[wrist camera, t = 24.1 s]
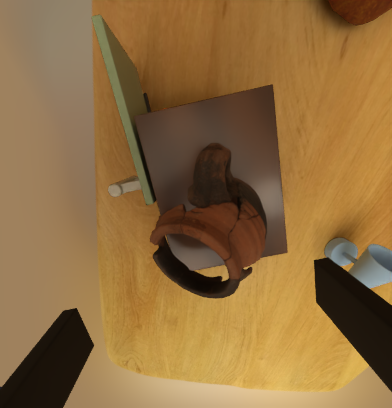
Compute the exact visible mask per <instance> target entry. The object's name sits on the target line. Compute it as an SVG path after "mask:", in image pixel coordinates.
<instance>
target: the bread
mask: <svg viewBox="0 0 392 408" xmlns="http://www.w3.org/2000/svg"><path fill="white" fill-rule="evenodd" d="M328 1H329V3H330V5H331V7H332V9H333V10H334V11H335V12H336V13H337V14H339V15H340V16H341V17H343V18H344V19H345V20H346V21H348V22H349V23H351V24H353V25H361V24H364V23H367V22H370V21H373V20H374V19H376V18H377V17H379V16H380V15H382V14H383V13H385V12H386V11H388V10H389V9H391V8H392V0H328Z"/></svg>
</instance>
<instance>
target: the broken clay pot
mask: <svg viewBox="0 0 392 408" xmlns="http://www.w3.org/2000/svg"><path fill="white" fill-rule="evenodd" d="M230 167H231V151H230V150H229V149H227V148H225V147H224V146H222V145H221V144H219V143H210V144H209V145H208V146H206V147H205V148H204V149H203V150H202V151H201V152H200V153H199V155H198V157H197V160H196V163H195V169H194V174H193V184H192V185H191V186H190V187H189V188H188V195H187V199H188V202H189V203H190V204H191V205H193V206H196V208H194V209H192V210H190V211H186V207H185V205H184V204H180V205H178V206H176V207H174V208H172V209H171V210H169V211H167V212H166V213H165V214H162V215H161V216H160V217H159V220H158V221H157V224H156V228H155V229H154V230H153V231H152V234H151V236H150V242H152V243H153V244H154V245H159V248H158V250H157V251H156V252H155V253H154V254H153V259H154V261H155V262H156V264H157V265H158V267H159V268H160V269H161V270H162V272H163V273H164V274H165V275H166V276H167V277H168V278H170V279H171V280H172V281H174V282H175V283H177V284H178V285H179V286H181V287H182V288H184V289H186V290H188V291H190V292H192V293H194V294H197V295H199V296H202V297H207V298H224V297H227V296H230V295H232V294H233V293H235V291H236V289H237V288H238V286H239V283H240V281H242V280H243V279H245V278H246V277H247V276H248V275H250V274H251V273H252V267H249V268H248V269H247V270H244V269H243V268H244V267H247V266H250V265H251V264H254V263H255V262H256V261H258V260H259V259H260V258H261V255H262V252H263V251H264V249H265V239H266V235H267V219H266V214H265V211H264V209H263V205H262V202H261V200H260V197H259V196H258V194H257V193H256V191H255V190H254V189H253V188H252V187H251V186H250V185H248V184H247V183H245V182H243V181H242V180H240V179H237V178H234V177H233V176H232V173H231V170H230ZM232 198H237V202H238V204H237V205H238V208H237V206H236V205H235V204H234V203H233V202H232V201H231V199H232ZM173 233H174V234H177V233H180V234H182V233H184V234H186V235H188V236H191V237H194V238H195V239H197V240H199V241H201V242H203V243H204V244H206V245H207V246H209V247H210V248H211V249H212V250H214V251H215V252H216V253H217V254H218V255H219V256H220V258H221V259H223V261H224V263H225V265H226V267H227V269H228V273H229V279H228V280H226V281H222V277H221V276H217V277H206V276H204V275H201V274H199V273H197V272H195V271H191V270H189V268H188V267H187V266H186V265H185V264H184V263H182V262H181V261H180V260H179V259H177V257H175V256H174V254H173V253H172V251H171V250H170V247H169V245H168V243H167V240H166V238H165V235H167V234H173ZM221 281H222V282H221Z"/></svg>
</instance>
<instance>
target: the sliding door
mask: <svg viewBox="0 0 392 408" xmlns="http://www.w3.org/2000/svg"><path fill="white" fill-rule="evenodd" d="M92 21H93V24H94V28H95V31H96V35H97V38H98V41H99V45H100V48H101V52H102V55H103V59H104V62H105V65H106V69H107V72H108V76H109V79H110V83H111V86H112V89H113V93H114V96H115V100H116V103H117V106H118V110H119V113H120V117H121V120H122V124H123V127H124V130H125V134H126V137H127V141H128V144H129V147H130V151H131V154H132V158H133V161H134V165H135V168H136V171H137V175H138V177H136V176H131V177H129V178H126V179H124V180H121V181H119V182H117V183H114V184H112V185H110V186H109V188H108V192H109V194H110V195H111V196H113V197H118V196H120V195H122V194H123V193H126V192H131V191H135V190H140V189H142V192H143V195H144V199H145V202H146V205H150V204H153V203H154V202H155V201H156V196H155V193H154V189H153V185H152V182H151V178H150V174H149V171H148V167H147V164H146V160H145V156H144V153H143V149H142V145H141V142H140V138H139V134H138V131H137V127H136V124H135V120H134V116H136V115H141V114H145V113H148V111H147V107H146V104H145V100H144V96H143V92H142V88H141V84H140V80H139V76H138V72H137V68H136V67H135V65H134V64H133V62H132V61H131V59H130V58H129V56H128V55H127V53H126V52H125V50H124V49H123V47H122V46H121V44H120V43H119V41H118V40H117V38H116V37H115V35H114V34H113V32H112V31H111V30H110V28H109V27H108V25H107V24H106V22H105V21H104V19H103V18H102V16H101V15H96V16H92Z"/></svg>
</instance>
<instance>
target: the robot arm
mask: <svg viewBox="0 0 392 408" xmlns="http://www.w3.org/2000/svg"><path fill="white" fill-rule="evenodd" d="M314 269H315V288H316V302H317V304H318V305H319V306H320V307H321V308H322V310H323V311H324V312H325V313H326V314H327V316H328V317H329V318H330V319H331V320H332V322H333V323H334V324H335V325H336V326H337V327H338V329H339V330H340V331H341V332H342V333H343V335H344V336H345V337H346V338H347V339H348V341H349V342H350V343H351V344H352V345H353V347H354V348H355V349H356V350H357V351H358V352H359V354H360V355H361V356H362V357H363V358H364V360H365V361H366V362H367V363H368V364H369V366H370V367H371V368H372V369H373V370H374V371H375V373H376V374H377V375H378V376H379V377H380V379H381V380H382V381H383V382H384V383H385V385H386V386H387V387H388V388H389V389H390V390H391V392H392V305H390V304H389V303H388V302H386V301H385V300H384V299H383V298H381V297H380V296H379V295H377V294H376V293H375V292H373V291H372V290H371V289H369V288H368V287H367V286H365V285H364V284H363V283H361V282H360V281H359V280H358V279H356V278H355V277H354V276H352V275H351V274H350V273H348V272H347V271H346V270H344V269H343V268H342V267H340V266H339V265H338V264H336V263H335V262H334V261H333V260H331V259H330V258H329V257H328V258H323V259H318V260H314ZM93 347H94V344H93V342H92V340H91V338H90V336H89V333H88V332H87V329H86V327H85V325H84V323H83V321H82V318H81V317H80V314H79V312H78V310H77V308H75V309H70V310H65V311H63V312H62V313H61V314H60V316H59V317H58V318H57V319H56V321H55V322H54V323H53V324H52V325H51V327H50V328H49V329H48V331H47V332H46V333H45V334H44V335H43V337H42V338H41V339H40V341H39V342H38V343H37V344H36V345H35V347H34V348H33V349H32V350H31V352H30V353H29V354H28V355H27V357H26V358H25V359H24V360H23V361H22V363H21V364H20V365H19V366H18V368H17V369H16V370H15V372H14V373H13V374H12V375H11V376H10V378H9V379H8V380H7V381H6V383H5V384H4V385H3V386H2V388H1V389H0V408H63V407H64V405H65V403H66V401H67V399H68V397H69V395H70V393H71V391H72V389H73V387H74V385H75V383H76V381H77V379H78V377H79V375H80V373H81V371H82V369H83V367H84V365H85V363H86V361H87V359H88V356H89V355H90V353H91V351H92V349H93Z"/></svg>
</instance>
